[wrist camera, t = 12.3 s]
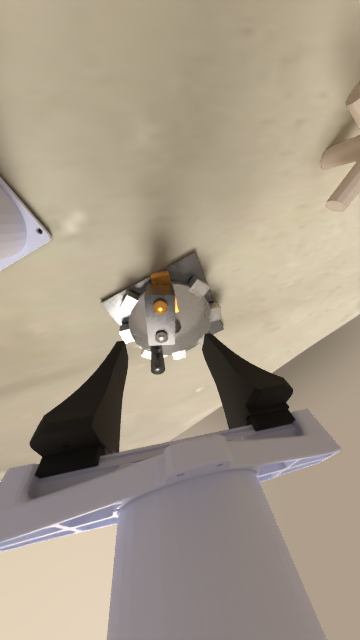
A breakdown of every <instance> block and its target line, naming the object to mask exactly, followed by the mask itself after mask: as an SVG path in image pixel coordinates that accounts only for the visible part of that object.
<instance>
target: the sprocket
mask: <svg viewBox="0 0 360 640" xmlns="http://www.w3.org/2000/svg"><path fill="white" fill-rule="evenodd" d="M151 281H152V284H173V288H174V292H175V345H155V346H149V343H148V332H147V321H146V310H145V299H144V295H145V291H146V289H145V290H144V291H143V292H142V293H140V295H137V294H135V293H133V292H131V291H129V290H128V292H127V294H126V296H125V298H124V299H123V301H122V303H121V306H120V310H122V311H124V312H127V313H129V314H130V316H129V323H128V324H124V325H121V326H120V330H119V333H120V335H121V337H122V339H123V341H125V343H128V342H132V341H135V342H136V343H137V344H138V345H139V346H140V347H141V348H142V349H141V356H143V357H146V358H149V359H151V372H152V373H153V374H162V373H163V372H164V371H165V364H164V356H163V355H173V357H174V360H178V359H181V358H185V357H187V356H186V351H188V350H190V349H192V348H193V347H195V346H196V345H198V344H200V345H202V346H203V341H204V335H205V334H209V333H210V332H209V329H210V327H211V323H212V321H216V320H220V319H221V307H220V306H219V304H218V303H217V302H214V303H210V304H209V303H208V301H207V300H206V299H205V297H204V295H205V294H206V293H207V291H208V290H209V289H210V287H209V286H208V285H207V284H206V283H205V282H203V281H202V280H200V279H199V278H198V277H196V276H195V275H194V276H193V277H192V279H191V280H190V282H189V283H188V284H187V283H184V282H179V281H171V280H170V275H169V272H168V270H167V271H163V272H158V273H154V274H151Z"/></svg>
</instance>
